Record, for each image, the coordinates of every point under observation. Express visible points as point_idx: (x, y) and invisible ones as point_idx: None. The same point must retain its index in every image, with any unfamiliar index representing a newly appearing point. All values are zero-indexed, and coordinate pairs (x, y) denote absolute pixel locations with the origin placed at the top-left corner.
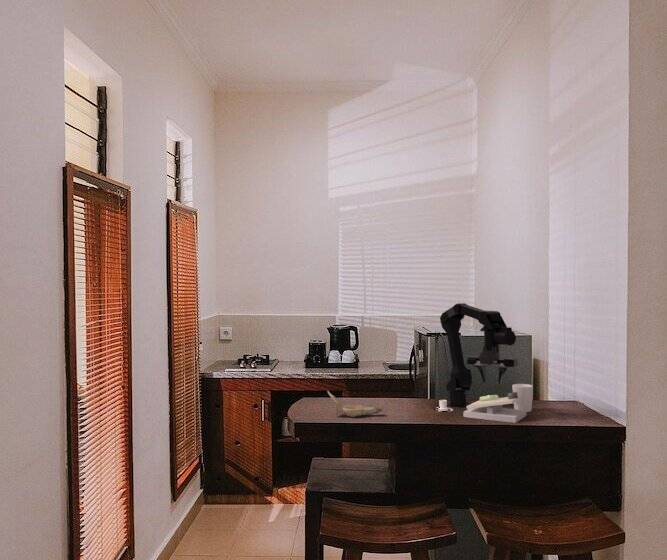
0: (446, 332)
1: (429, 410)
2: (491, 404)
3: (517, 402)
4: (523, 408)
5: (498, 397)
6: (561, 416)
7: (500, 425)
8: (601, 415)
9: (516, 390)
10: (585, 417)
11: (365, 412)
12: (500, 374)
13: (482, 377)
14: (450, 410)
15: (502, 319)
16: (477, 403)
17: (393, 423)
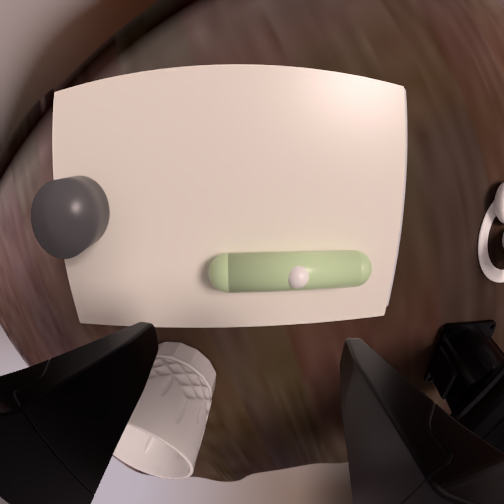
0: None
1: None
2: (204, 67)
3: (174, 370)
4: (158, 350)
5: (209, 268)
6: (51, 311)
7: (158, 19)
8: (20, 350)
9: (152, 412)
10: (20, 318)
11: None
12: (40, 375)
13: (395, 376)
14: (485, 225)
15: None
16: (354, 155)
17: None
